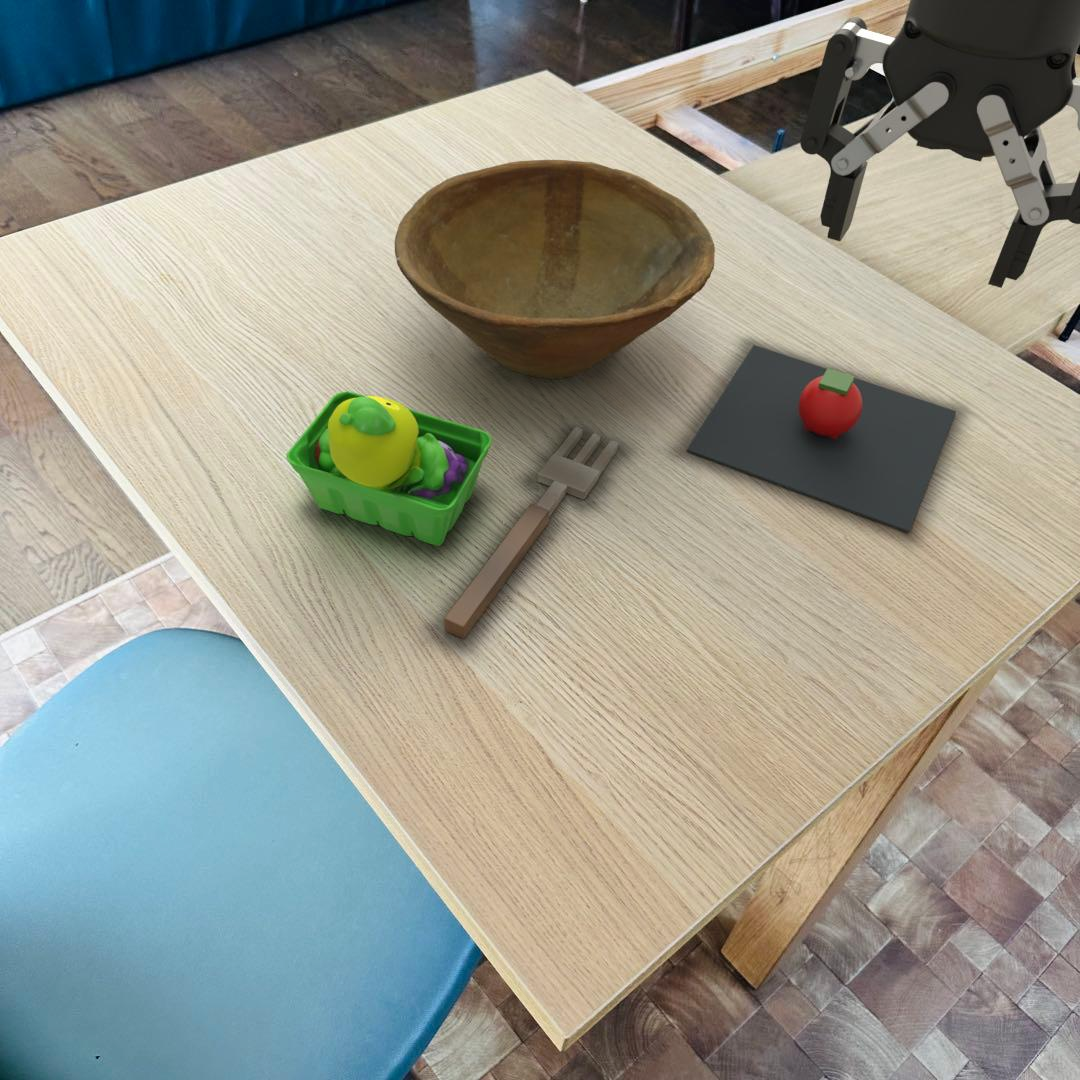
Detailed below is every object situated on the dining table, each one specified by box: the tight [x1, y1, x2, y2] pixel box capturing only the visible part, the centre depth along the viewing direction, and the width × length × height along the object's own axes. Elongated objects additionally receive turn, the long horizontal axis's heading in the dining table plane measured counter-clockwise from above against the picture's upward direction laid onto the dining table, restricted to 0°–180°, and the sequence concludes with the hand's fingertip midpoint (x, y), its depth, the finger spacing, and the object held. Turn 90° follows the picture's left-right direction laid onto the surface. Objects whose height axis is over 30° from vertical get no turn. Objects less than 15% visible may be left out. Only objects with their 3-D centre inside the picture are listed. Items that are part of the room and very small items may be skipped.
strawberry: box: [798, 367, 862, 439], centre depth 73 cm, size 4×4×4 cm
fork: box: [443, 426, 619, 640], centre depth 67 cm, size 20×4×1 cm, turn 152°
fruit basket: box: [286, 391, 493, 547], centre depth 64 cm, size 11×9×11 cm
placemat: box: [686, 344, 957, 534], centre depth 75 cm, size 16×14×1 cm
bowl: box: [394, 159, 716, 379], centre depth 77 cm, size 22×23×10 cm
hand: (916, 256), depth 54 cm, fingers open, 8 cm apart
